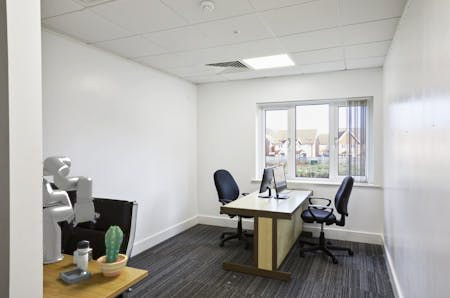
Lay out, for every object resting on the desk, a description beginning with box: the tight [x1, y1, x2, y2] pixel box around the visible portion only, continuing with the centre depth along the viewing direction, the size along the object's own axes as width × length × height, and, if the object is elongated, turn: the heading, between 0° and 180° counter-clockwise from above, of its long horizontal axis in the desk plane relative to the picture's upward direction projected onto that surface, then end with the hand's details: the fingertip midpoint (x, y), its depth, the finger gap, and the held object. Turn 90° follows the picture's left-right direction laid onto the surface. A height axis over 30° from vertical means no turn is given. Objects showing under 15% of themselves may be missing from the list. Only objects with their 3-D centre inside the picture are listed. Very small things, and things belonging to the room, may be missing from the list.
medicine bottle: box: [73, 240, 93, 265], centre depth 169 cm, size 7×7×12 cm
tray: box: [59, 267, 92, 286], centre depth 147 cm, size 12×10×3 cm
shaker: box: [76, 250, 89, 271], centre depth 159 cm, size 5×5×10 cm
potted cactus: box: [96, 225, 128, 277], centre depth 153 cm, size 15×15×25 cm
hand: (83, 231), depth 157 cm, fingers open, 9 cm apart
